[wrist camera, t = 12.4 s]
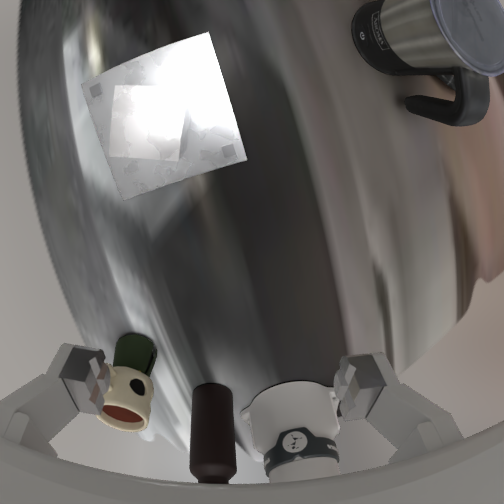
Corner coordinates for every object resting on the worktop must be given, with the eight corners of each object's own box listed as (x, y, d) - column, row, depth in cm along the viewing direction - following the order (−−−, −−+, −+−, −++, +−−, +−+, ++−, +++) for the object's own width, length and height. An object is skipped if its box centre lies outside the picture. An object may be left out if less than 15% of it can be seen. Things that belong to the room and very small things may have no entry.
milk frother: (334, 13, 24) (407, -30, 11) (432, -16, 21) (515, -37, 8) (393, 125, 30) (484, 154, 17) (477, 82, 27) (564, 98, 14)
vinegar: (184, 393, 48) (178, 500, 31) (211, 377, 46) (211, 493, 29) (213, 408, 51) (215, 508, 33) (240, 393, 49) (249, 500, 32)
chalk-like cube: (194, 90, 27) (187, 88, 22) (186, 149, 30) (178, 161, 24) (134, 86, 26) (115, 85, 21) (128, 145, 29) (109, 156, 24)
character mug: (172, 366, 45) (164, 438, 33) (133, 371, 45) (119, 439, 34) (143, 315, 39) (122, 391, 28) (101, 322, 40) (73, 393, 28)
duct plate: (246, 158, 31) (249, 167, 27) (124, 199, 32) (113, 212, 28) (208, 33, 24) (206, 24, 21) (82, 84, 25) (65, 84, 22)
